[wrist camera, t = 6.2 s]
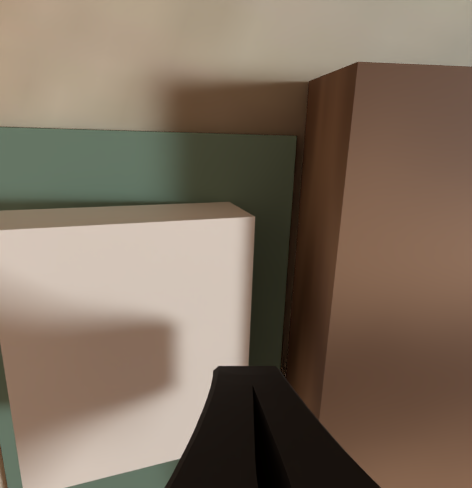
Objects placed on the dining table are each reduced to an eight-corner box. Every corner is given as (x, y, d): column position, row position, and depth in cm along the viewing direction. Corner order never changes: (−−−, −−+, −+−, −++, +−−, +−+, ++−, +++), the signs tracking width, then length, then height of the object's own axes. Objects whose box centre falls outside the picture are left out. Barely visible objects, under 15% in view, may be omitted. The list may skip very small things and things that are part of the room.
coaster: (24, 498, 10) (32, 441, 12) (244, 442, 12) (224, 400, 14) (-18, 231, 8) (0, 210, 10) (254, 216, 10) (229, 201, 12)
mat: (270, 483, 16) (271, 490, 15) (13, 490, 15) (9, 497, 15) (294, 135, 12) (296, 136, 12) (-47, 125, 11) (-54, 125, 11)
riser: (502, 467, 16) (593, 575, 12) (278, 473, 16) (301, 588, 12) (606, 93, 12) (789, 80, 8) (309, 81, 11) (357, 62, 8)
